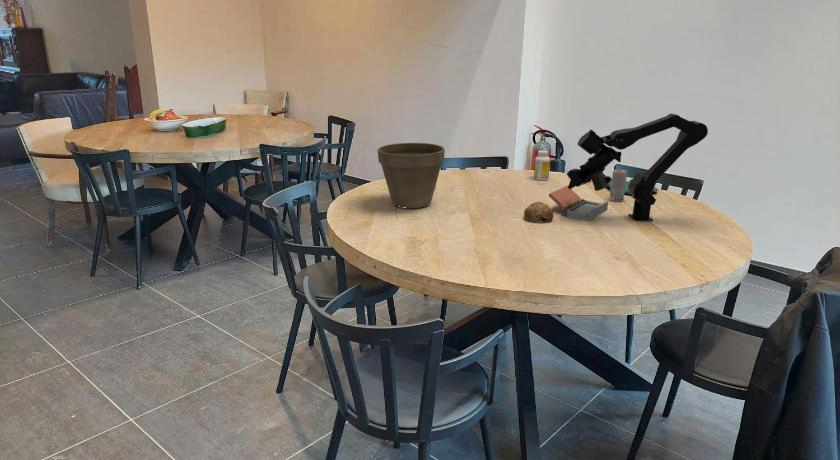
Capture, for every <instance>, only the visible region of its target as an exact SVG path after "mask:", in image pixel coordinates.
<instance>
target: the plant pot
mask: <svg viewBox="0 0 840 460" xmlns="http://www.w3.org/2000/svg"><path fill="white" fill-rule="evenodd" d="M445 151H446V149H445V147H444V146H442V145H439V144H435V143H430V142H429V143H427V142H426V143H425V142H401V143H391V144H387V145H382V146H380V147H379V148H377V151H376V152H377V159H378V163H379V164H380V165H381V168H382V173H383V175H384V179H385V182H386V185H387V189H388V192H389V195H390V199H391V202H392V205H394V204H395V205H397V206H400V207H406V208H418V209H422V208H421V207H424V208H427V207H428V205H429V206H430V205H431V204H432V201H433V198H434V194H435V190H436V186H437V183H438V178H439V174H440V170H441V167H442V164H443V163H444V161H445V153H446V152H445ZM395 205H394V206H395ZM397 206H396V207H397ZM426 206H427V207H426Z"/></svg>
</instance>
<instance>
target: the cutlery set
mask: <svg viewBox="0 0 840 460" xmlns="http://www.w3.org/2000/svg"><path fill="white" fill-rule="evenodd" d="M611 179H612V177H611ZM591 180H592V179H591ZM611 182H612V180H611V181H610V182H609V183H608V184H609V185H608V187H607V188H608V189H609V190H611ZM629 183H630V180H629V181H627V180H626V185H625V193H624V194H627V195H631V194H630V193H629V191H628V185H629ZM658 191H659V189H658V188H657V187H654V189H653V191H652V192H651V193H654V192H656V193H655V194H657V192H658Z"/></svg>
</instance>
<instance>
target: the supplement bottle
mask: <svg viewBox="0 0 840 460" xmlns="http://www.w3.org/2000/svg"><path fill="white" fill-rule="evenodd" d="M550 166H551V159H550V157H549V151H548V150H538V151H537V156H536V157H535V159H534V171H533V179H534V180H536V181H541V182H542V181H548V180H549V179H550V177H549V176H550Z"/></svg>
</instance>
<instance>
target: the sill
mask: <svg viewBox="0 0 840 460" xmlns="http://www.w3.org/2000/svg"><path fill="white" fill-rule="evenodd" d="M586 201H587V200H586V199H585V198H581V200H580V201H579V202H577V203H575V204H573V205H571V206H569V207H567V208H564V209H562V208H561V216H562V217H567V211H573V210H575V209H577V208H578V207H580V206H582V205H584V204H586ZM567 218H568V217H567Z"/></svg>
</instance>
